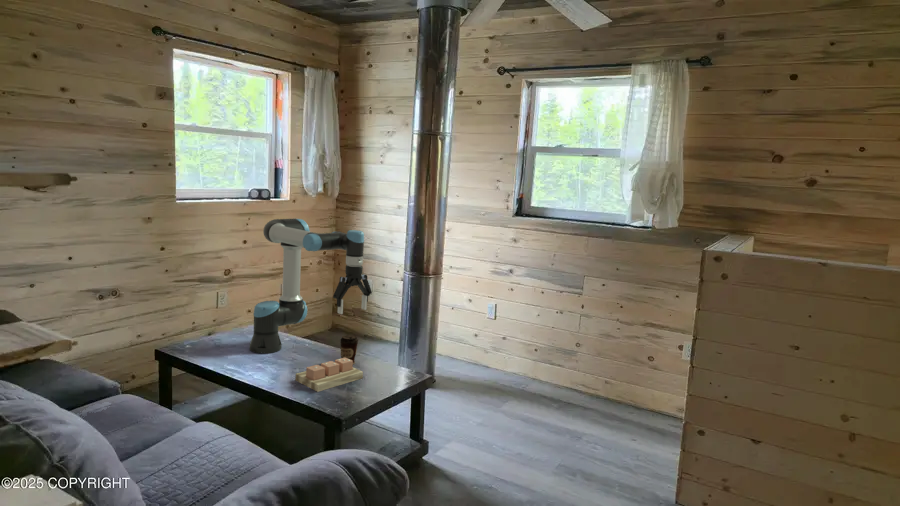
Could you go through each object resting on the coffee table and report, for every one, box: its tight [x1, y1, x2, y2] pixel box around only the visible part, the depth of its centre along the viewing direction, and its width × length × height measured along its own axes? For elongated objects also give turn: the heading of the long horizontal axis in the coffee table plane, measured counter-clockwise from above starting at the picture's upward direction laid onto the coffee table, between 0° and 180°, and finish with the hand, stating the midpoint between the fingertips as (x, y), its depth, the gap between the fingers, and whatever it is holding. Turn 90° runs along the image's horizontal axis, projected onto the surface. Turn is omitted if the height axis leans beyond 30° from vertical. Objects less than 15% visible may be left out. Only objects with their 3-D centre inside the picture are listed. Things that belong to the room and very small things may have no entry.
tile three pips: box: [334, 357, 354, 373], centre depth 247 cm, size 6×6×5 cm
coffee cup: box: [339, 334, 359, 365], centre depth 262 cm, size 9×8×13 cm
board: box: [294, 367, 364, 393], centre depth 242 cm, size 16×24×3 cm, turn 139°
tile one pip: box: [305, 364, 325, 381], centre depth 235 cm, size 6×6×5 cm
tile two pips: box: [320, 360, 339, 377], centre depth 241 cm, size 6×6×5 cm
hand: (352, 311), depth 250 cm, fingers open, 13 cm apart
